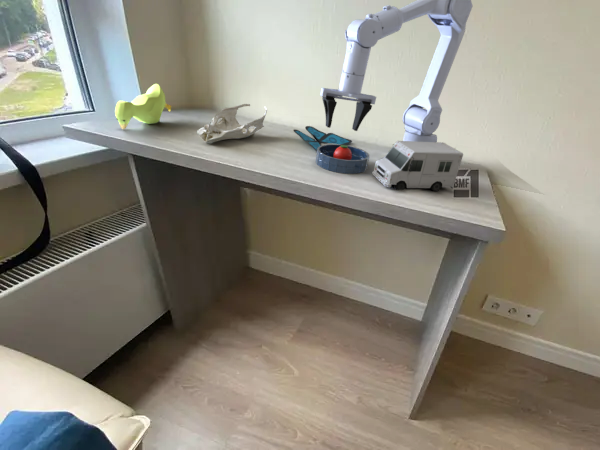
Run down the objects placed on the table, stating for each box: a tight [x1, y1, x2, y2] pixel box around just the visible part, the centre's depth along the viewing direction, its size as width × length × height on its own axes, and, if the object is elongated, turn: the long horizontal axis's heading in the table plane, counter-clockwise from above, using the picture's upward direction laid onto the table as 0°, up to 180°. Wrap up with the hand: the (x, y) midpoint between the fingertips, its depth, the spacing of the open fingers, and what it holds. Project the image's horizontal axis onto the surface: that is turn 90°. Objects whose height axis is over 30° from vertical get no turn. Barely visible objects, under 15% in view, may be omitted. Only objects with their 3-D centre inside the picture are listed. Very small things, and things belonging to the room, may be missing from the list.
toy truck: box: [371, 140, 464, 192], centre depth 92 cm, size 13×20×10 cm, turn 90°
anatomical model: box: [196, 103, 268, 144], centre depth 114 cm, size 15×9×25 cm
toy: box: [114, 83, 172, 130], centre depth 117 cm, size 6×17×20 cm
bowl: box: [315, 144, 370, 175], centre depth 101 cm, size 14×14×4 cm
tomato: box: [334, 145, 352, 160], centre depth 100 cm, size 5×5×5 cm
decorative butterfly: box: [293, 125, 353, 152], centre depth 117 cm, size 20×14×3 cm
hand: (341, 128), depth 98 cm, fingers open, 7 cm apart
